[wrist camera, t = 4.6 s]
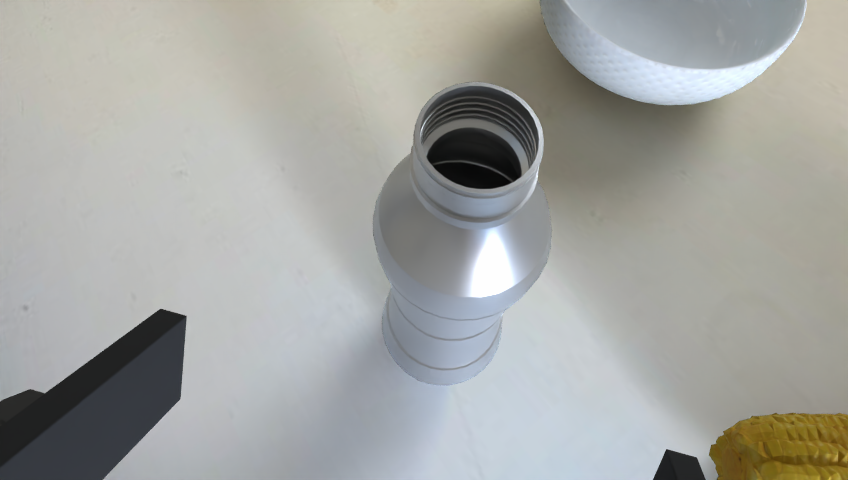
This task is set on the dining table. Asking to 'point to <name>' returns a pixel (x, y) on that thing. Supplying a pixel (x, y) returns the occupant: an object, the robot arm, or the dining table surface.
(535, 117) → the silver aluminium bottle
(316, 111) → the dining table surface
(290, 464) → the dining table surface
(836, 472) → the food
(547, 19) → the cereal bowl
